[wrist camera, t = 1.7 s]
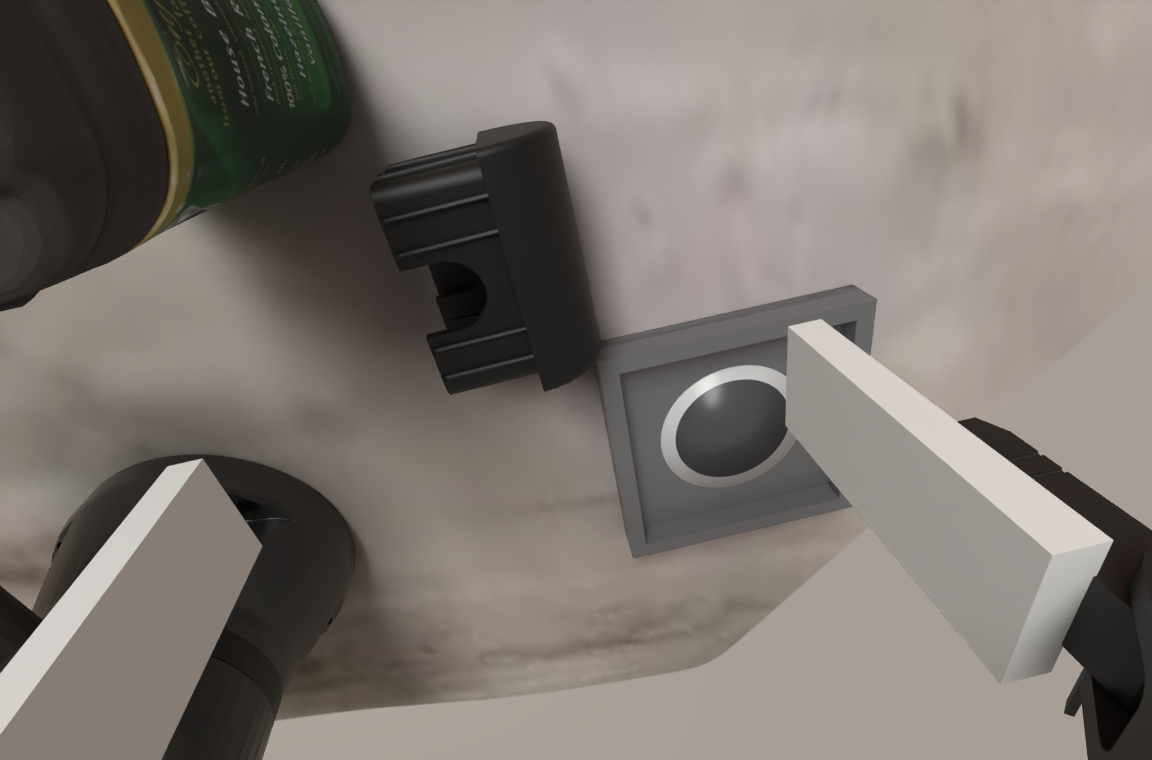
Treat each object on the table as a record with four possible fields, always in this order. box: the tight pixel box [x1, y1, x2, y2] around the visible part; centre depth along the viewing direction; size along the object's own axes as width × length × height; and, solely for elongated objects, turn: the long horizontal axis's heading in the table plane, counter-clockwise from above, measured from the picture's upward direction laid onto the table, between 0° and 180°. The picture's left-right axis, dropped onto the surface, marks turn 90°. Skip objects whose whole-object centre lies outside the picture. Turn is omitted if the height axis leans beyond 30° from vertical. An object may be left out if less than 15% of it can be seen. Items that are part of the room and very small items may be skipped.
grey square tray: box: [595, 285, 877, 558], centre depth 33 cm, size 15×15×2 cm
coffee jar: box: [0, 0, 351, 311], centre depth 14 cm, size 10×8×19 cm
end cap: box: [370, 121, 601, 395], centre depth 24 cm, size 10×7×7 cm
